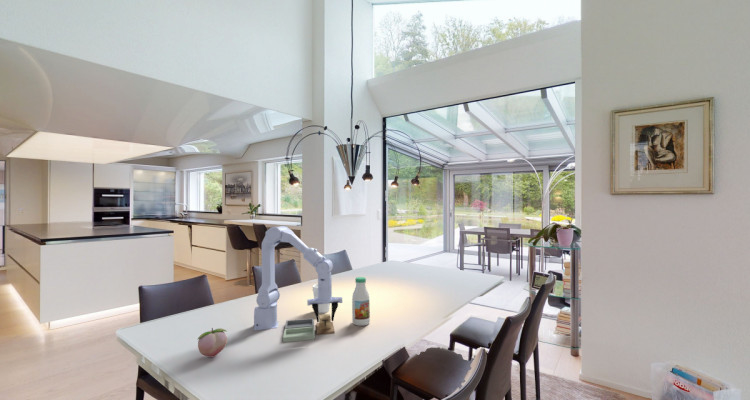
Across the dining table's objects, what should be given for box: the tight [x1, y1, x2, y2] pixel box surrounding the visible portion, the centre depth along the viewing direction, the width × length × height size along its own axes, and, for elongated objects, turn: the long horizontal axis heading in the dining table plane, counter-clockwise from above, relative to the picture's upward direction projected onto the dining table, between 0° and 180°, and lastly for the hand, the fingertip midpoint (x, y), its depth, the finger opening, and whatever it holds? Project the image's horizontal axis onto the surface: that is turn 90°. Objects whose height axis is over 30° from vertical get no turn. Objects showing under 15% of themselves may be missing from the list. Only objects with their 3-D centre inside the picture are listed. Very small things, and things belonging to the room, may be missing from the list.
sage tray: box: [282, 326, 316, 343], centre depth 127 cm, size 12×9×2 cm
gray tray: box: [284, 317, 315, 330], centre depth 137 cm, size 12×9×2 cm
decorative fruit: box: [197, 327, 228, 358], centre depth 111 cm, size 9×8×10 cm
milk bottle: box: [351, 276, 371, 327], centre depth 141 cm, size 8×8×20 cm
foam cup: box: [312, 283, 331, 314], centre depth 157 cm, size 10×9×13 cm
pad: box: [316, 321, 336, 336], centre depth 134 cm, size 7×11×1 cm, turn 12°
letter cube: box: [318, 313, 332, 329], centre depth 134 cm, size 4×5×4 cm
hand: (325, 320), depth 134 cm, fingers open, 5 cm apart
